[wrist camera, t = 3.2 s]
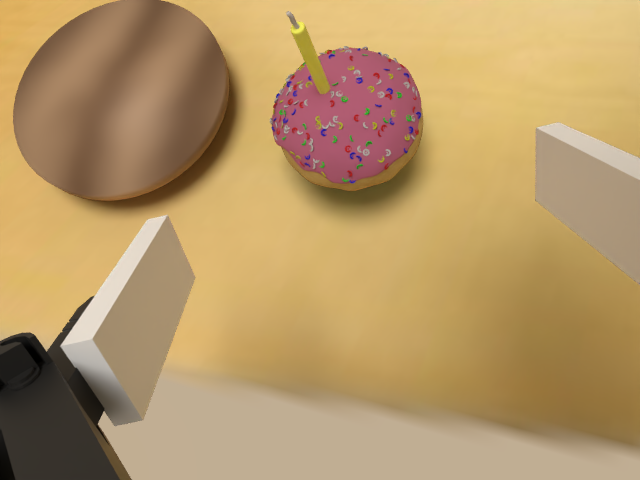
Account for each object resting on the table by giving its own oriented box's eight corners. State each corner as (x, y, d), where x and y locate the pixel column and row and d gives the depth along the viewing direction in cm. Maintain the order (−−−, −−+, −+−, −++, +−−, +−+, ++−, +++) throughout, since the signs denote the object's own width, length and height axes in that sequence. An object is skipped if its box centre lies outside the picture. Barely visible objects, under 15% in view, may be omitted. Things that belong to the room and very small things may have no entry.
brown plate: (256, 33, 33) (245, 2, 30) (213, 222, 29) (195, 207, 26) (78, 24, 35) (52, -5, 32) (18, 198, 32) (-18, 182, 29)
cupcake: (274, 198, 29) (208, 93, 18) (307, 88, 31) (266, -71, 20) (402, 224, 28) (420, 128, 16) (428, 107, 30) (461, -54, 18)
